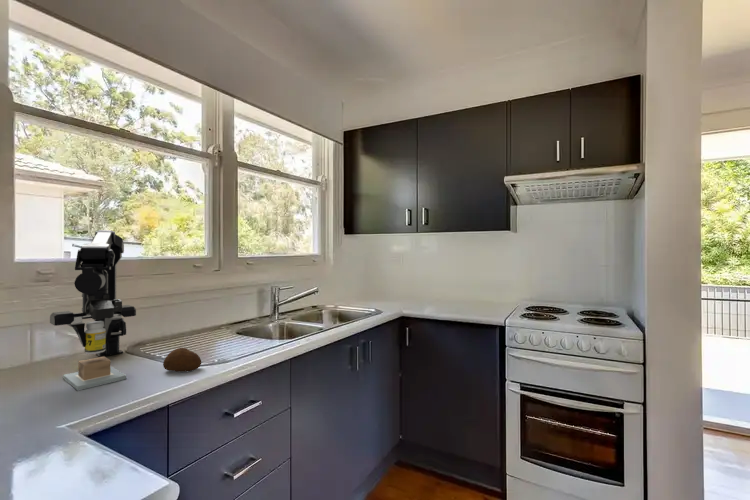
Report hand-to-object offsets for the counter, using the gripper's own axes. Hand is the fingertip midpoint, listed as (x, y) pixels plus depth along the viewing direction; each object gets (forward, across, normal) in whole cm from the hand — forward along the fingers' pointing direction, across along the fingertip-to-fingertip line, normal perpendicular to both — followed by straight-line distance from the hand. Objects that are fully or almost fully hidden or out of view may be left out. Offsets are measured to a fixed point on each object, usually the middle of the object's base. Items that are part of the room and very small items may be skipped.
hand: (95, 344), depth 104 cm
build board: (+10, 0, 0) cm, 10 cm away
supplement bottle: (+2, 0, 0) cm, 2 cm away
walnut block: (+8, 0, 0) cm, 8 cm away
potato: (+10, +18, -12) cm, 24 cm away
